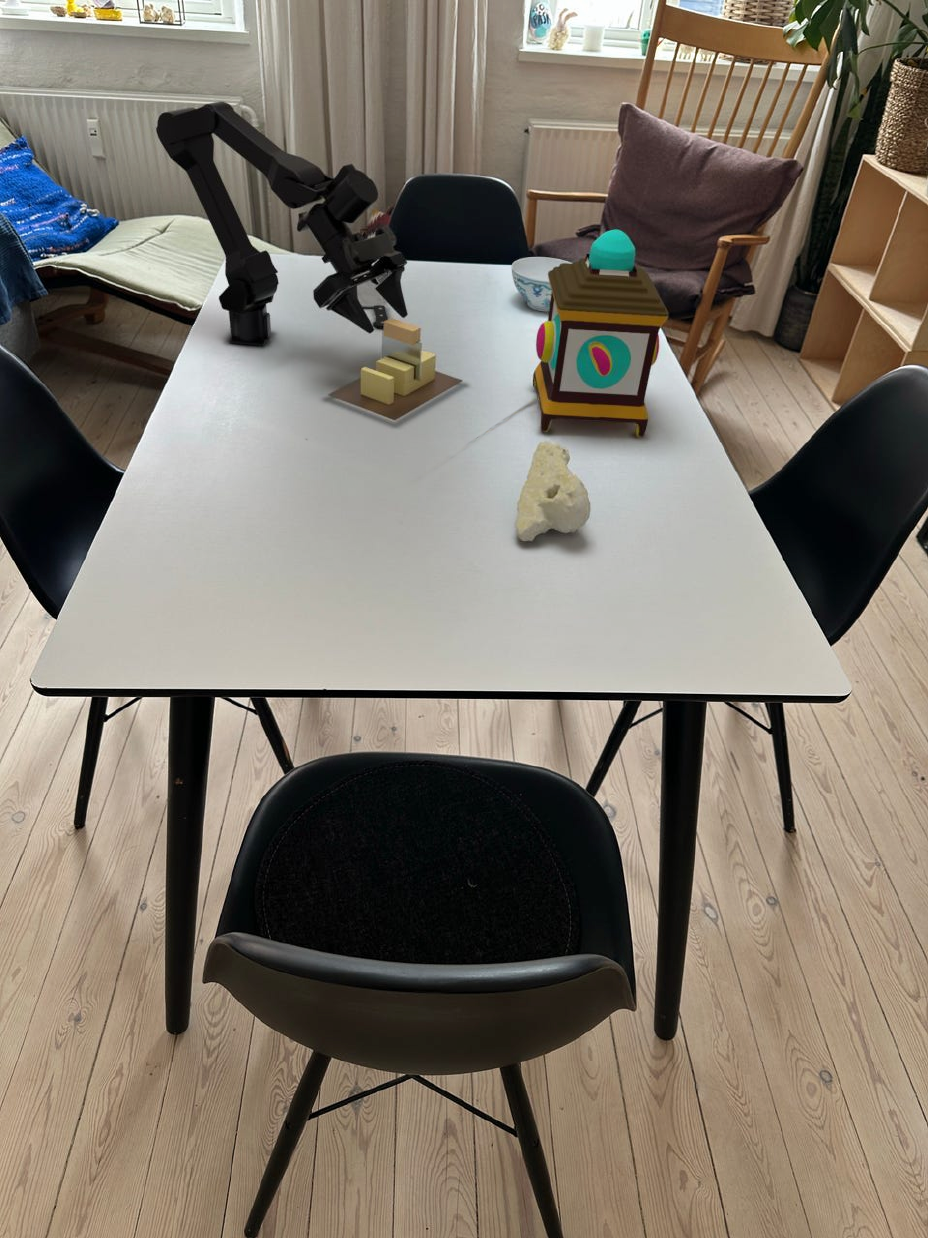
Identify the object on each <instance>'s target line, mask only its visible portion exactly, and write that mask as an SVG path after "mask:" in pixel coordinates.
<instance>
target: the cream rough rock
mask: <svg viewBox="0 0 928 1238" xmlns="http://www.w3.org/2000/svg"><path fill="white" fill-rule="evenodd" d="M569 451H570V450H569V448H567V447H563V446H562V445H561V444H560V443H559V442H556V443H553V442H550V441H541V442H539V443H538V444H537V446H536V449H535V450H534V452H533V455H532V460H531V464H530V467H529V469H528V473H527V476H526V480H525V481H524V484H523V486H522V488H521V491H520V494H519V499H518V501H517V502H516V505H517V506H516V510H517V518H516V521H515V529H516V530H515V531H516V534H517V537H518V538H519V540H521V541H522V542H528V541H529V542H533V541H534V539H535V538H536V536H538V535H540V534H546V533H547V532H548V531H549V530H550V529H551V530H555V531H559V532H561V533H565V534H568V533H576V531H577V530H579V529H580V528H581V527H583V526H585V525H586V523H587V522H588V520H589V519H590V516H591V509H592V508H591V502H590V499H589V492H588V489H587V488H586V487H585V484H584V483H583V482H582V480H580V478H579V477H578V476H577V475H576V474H574V473H573V472H572V471H571V470H570V468H569V467H568V464H569V462H570V460H571V455H570V452H569Z"/></svg>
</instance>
